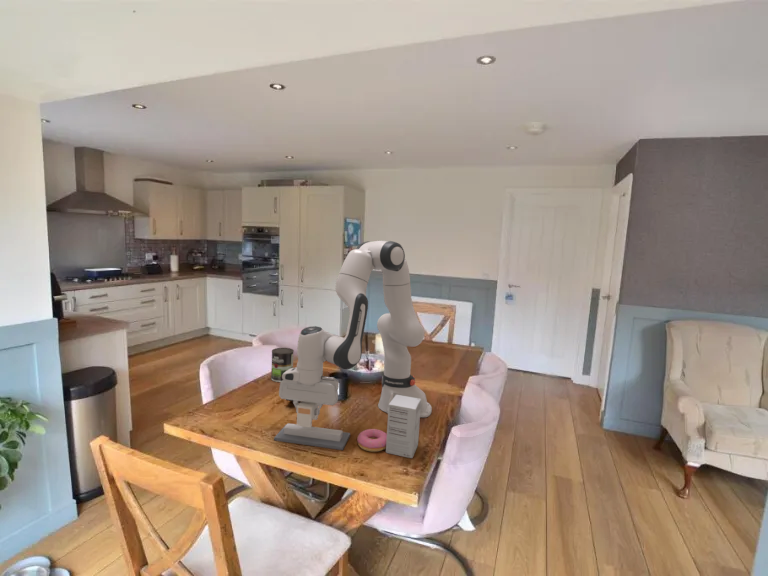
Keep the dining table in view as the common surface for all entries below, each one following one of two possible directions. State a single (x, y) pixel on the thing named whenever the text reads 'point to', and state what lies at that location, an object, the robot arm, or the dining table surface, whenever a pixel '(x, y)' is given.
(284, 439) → the rail
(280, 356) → the coffee can
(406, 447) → the supplement box
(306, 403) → the block
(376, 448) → the doughnut
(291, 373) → the robot arm
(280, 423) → the dining table surface
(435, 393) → the dining table surface
